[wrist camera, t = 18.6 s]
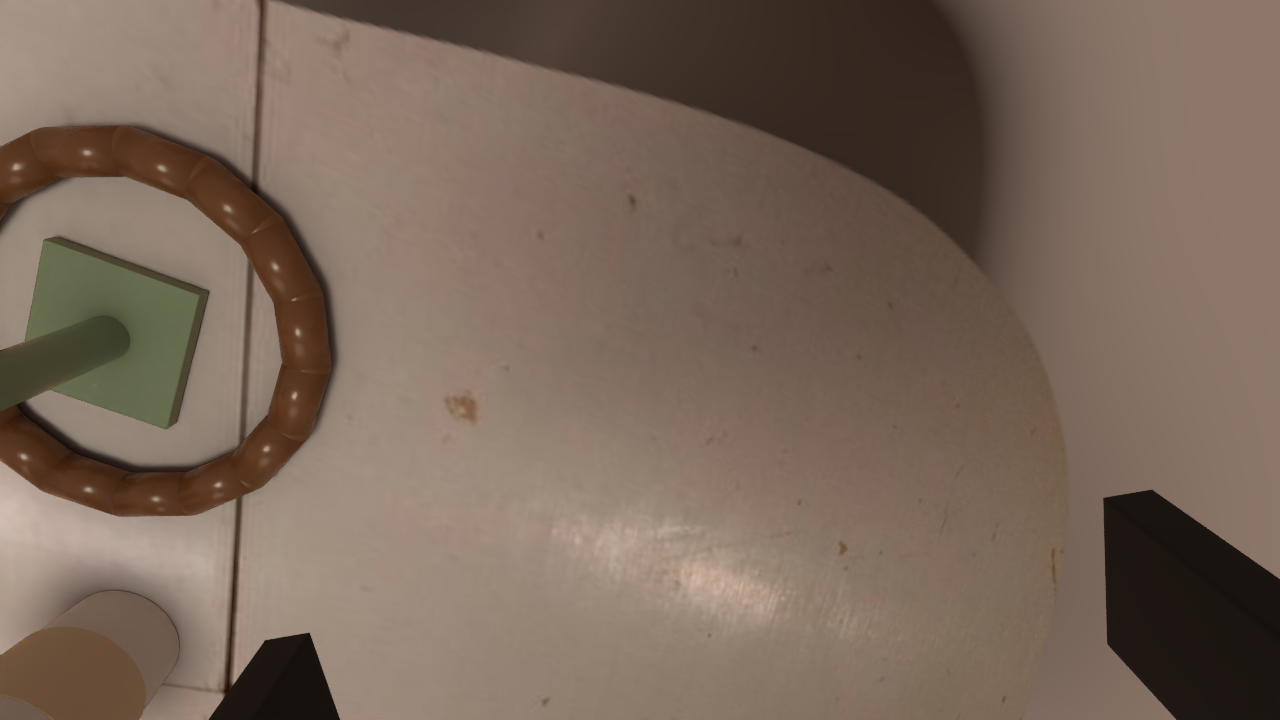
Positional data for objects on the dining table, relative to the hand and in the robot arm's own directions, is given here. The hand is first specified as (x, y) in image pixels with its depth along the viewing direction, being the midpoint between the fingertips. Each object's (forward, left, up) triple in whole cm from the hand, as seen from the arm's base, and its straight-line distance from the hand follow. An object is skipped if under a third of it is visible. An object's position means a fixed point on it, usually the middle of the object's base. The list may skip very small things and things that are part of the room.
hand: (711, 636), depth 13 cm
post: (+13, -26, -31) cm, 42 cm away
